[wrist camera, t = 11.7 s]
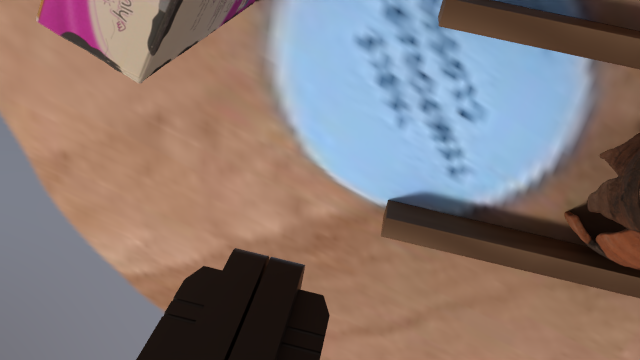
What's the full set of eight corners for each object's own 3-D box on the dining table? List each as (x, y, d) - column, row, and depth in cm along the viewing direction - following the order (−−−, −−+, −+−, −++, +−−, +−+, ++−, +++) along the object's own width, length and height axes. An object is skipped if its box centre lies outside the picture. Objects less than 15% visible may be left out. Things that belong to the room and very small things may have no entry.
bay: (445, -10, 34) (447, 3, 30) (887, 83, 32) (943, 108, 29) (383, 217, 42) (379, 248, 39) (733, 300, 41) (762, 340, 37)
